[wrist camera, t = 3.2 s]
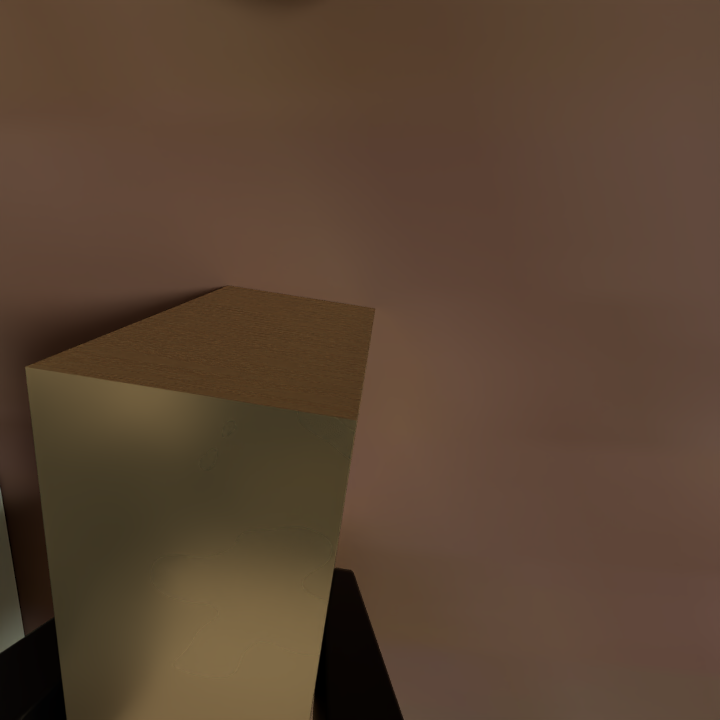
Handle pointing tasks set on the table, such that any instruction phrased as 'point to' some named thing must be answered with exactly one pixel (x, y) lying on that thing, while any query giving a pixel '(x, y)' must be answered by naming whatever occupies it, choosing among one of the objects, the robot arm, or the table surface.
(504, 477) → the table surface
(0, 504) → the base board
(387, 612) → the table surface
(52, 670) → the robot arm
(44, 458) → the link bar
